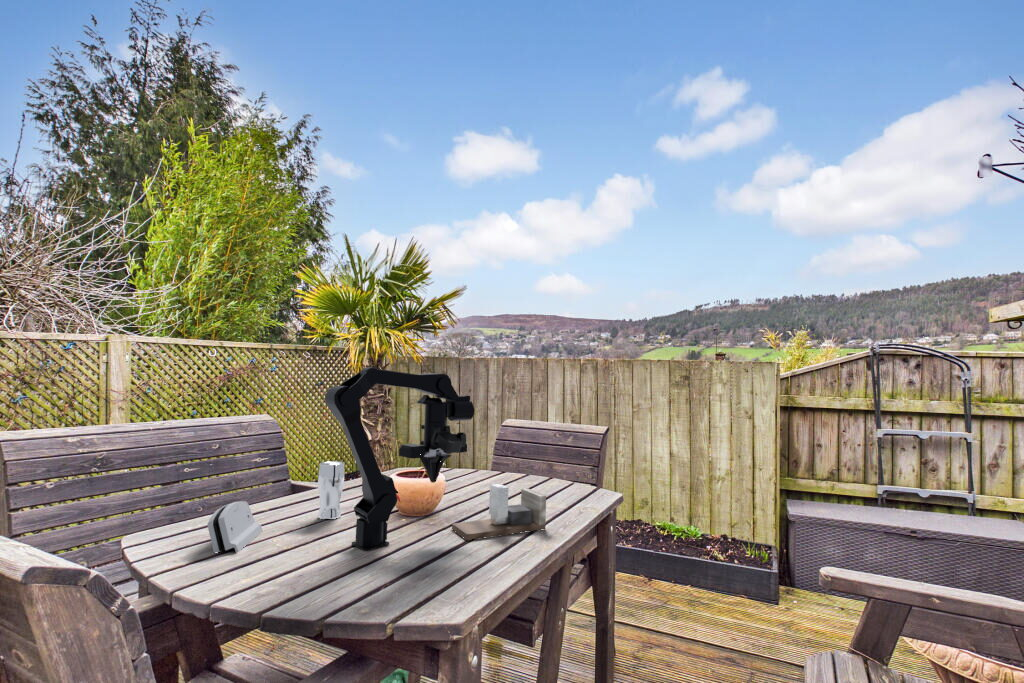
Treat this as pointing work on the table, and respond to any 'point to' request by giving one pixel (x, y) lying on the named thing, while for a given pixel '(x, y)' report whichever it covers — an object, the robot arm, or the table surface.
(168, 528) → the table surface
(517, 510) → the plate
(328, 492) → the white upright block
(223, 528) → the grey rounded panel block
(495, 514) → the white l-shaped block
